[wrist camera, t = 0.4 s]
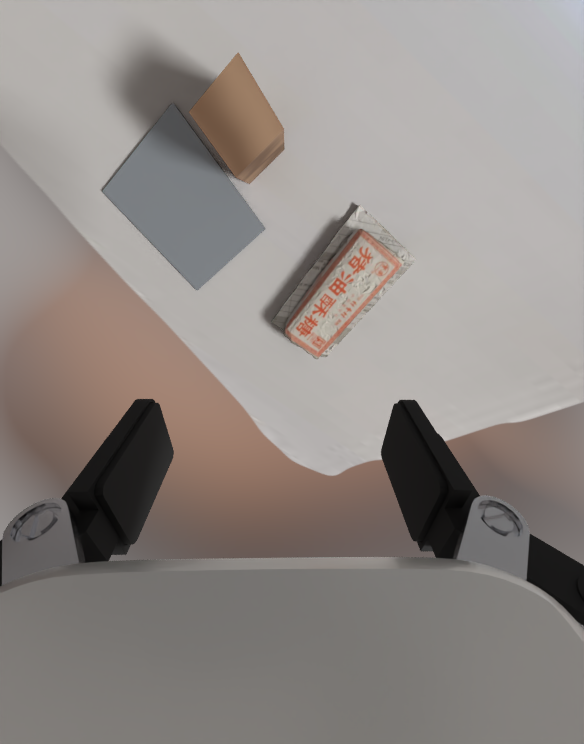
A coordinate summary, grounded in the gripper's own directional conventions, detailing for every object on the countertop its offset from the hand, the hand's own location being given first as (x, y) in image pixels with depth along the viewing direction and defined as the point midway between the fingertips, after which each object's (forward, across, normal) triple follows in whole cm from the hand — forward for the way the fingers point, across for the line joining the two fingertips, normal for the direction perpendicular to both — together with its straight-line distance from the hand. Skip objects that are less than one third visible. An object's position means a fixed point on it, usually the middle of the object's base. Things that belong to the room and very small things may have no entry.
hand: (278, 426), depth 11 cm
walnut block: (+29, +4, -13) cm, 32 cm away
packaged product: (+30, -8, +3) cm, 31 cm away
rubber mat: (+29, +11, -6) cm, 32 cm away
